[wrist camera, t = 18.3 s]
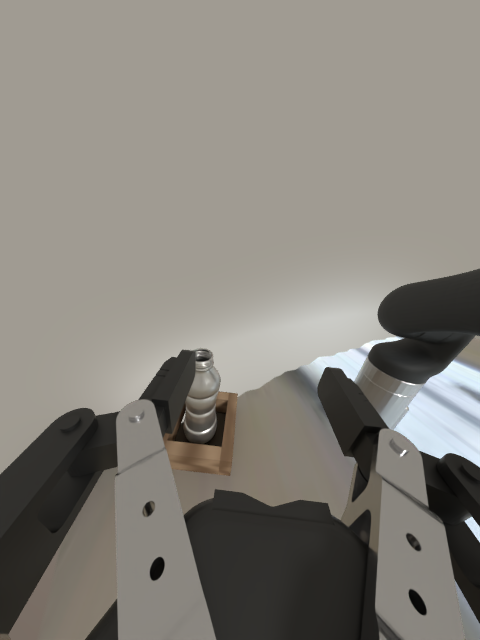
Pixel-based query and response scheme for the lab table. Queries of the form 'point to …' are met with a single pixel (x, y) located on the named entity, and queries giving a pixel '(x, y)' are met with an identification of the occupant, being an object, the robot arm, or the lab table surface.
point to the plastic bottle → (202, 400)
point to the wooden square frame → (205, 455)
